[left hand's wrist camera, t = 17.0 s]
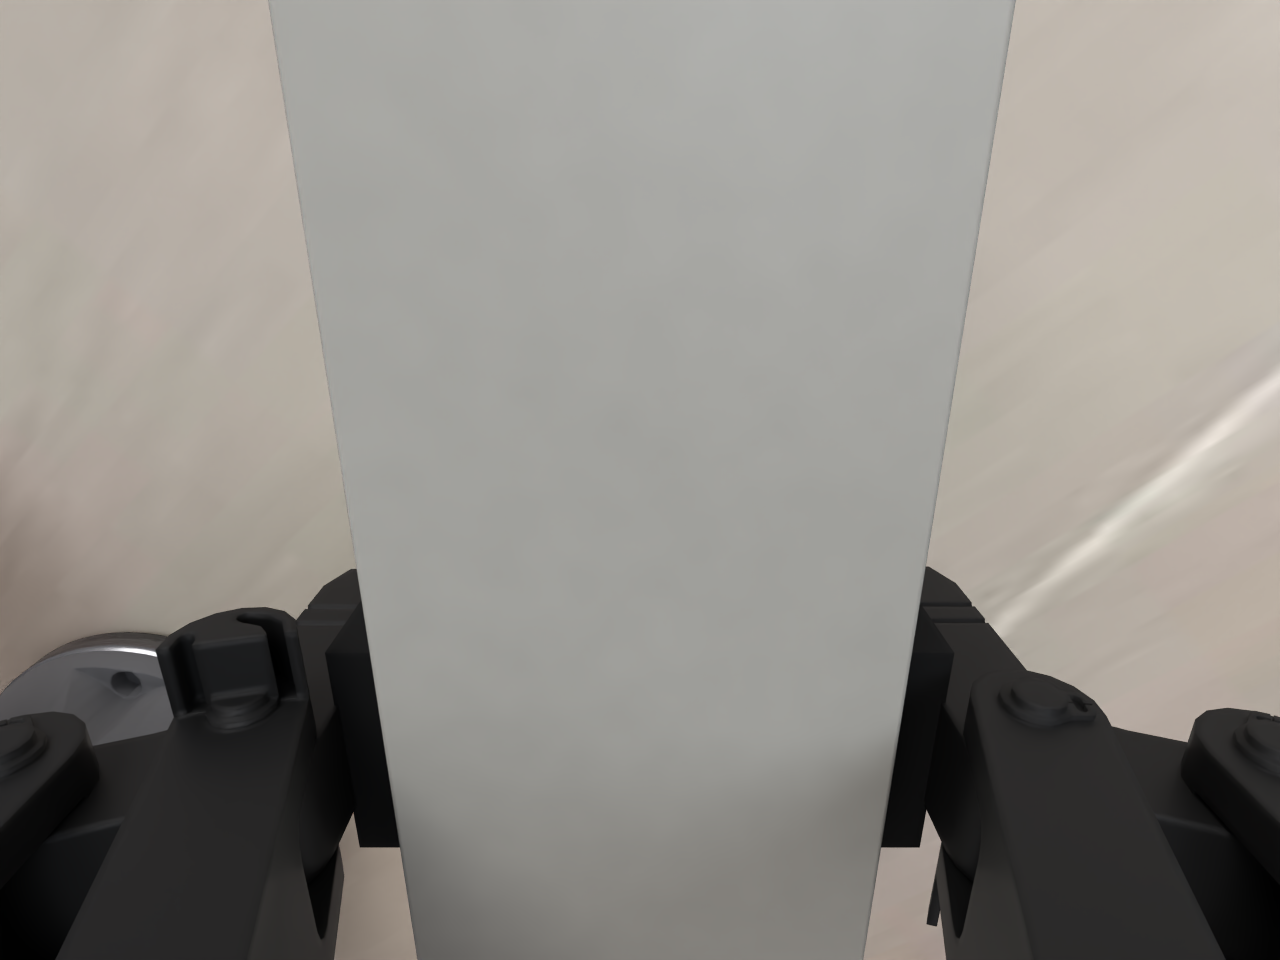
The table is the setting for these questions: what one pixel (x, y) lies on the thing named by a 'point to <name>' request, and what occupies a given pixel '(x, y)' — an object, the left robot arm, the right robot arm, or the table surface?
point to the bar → (641, 439)
